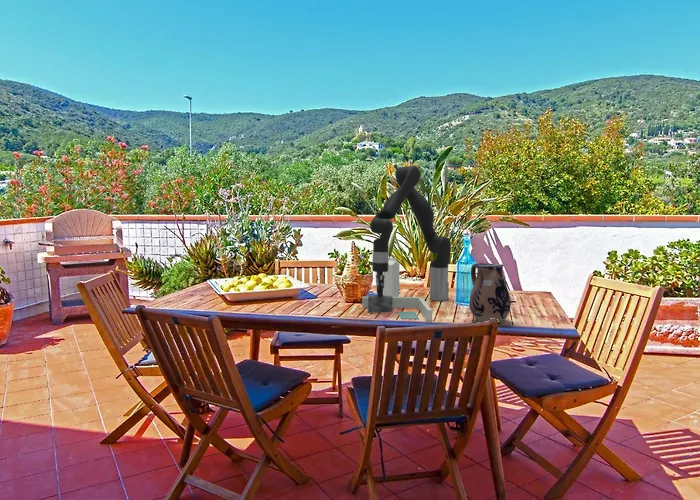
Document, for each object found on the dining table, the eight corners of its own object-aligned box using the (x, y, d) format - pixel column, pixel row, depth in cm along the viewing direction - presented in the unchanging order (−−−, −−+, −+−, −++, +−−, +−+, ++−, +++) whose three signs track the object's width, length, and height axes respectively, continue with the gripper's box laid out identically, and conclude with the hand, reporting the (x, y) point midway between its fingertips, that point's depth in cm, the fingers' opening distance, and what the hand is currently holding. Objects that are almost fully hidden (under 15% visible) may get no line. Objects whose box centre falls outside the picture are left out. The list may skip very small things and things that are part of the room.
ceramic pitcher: (492, 328, 227) (494, 268, 224) (454, 318, 244) (455, 263, 241) (518, 322, 237) (520, 265, 235) (480, 314, 254) (482, 260, 252)
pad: (414, 312, 257) (414, 311, 257) (419, 319, 243) (419, 318, 243) (397, 312, 257) (397, 311, 257) (401, 319, 243) (401, 318, 243)
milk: (392, 301, 283) (392, 258, 281) (382, 299, 287) (383, 257, 285) (399, 299, 288) (399, 257, 285) (390, 297, 292) (390, 256, 289)
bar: (391, 310, 262) (391, 295, 261) (392, 312, 257) (392, 297, 256) (368, 310, 262) (368, 295, 261) (368, 312, 257) (368, 297, 256)
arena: (421, 306, 269) (421, 296, 268) (431, 321, 239) (432, 309, 238) (362, 306, 268) (362, 296, 268) (365, 321, 238) (365, 309, 238)
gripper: (389, 263, 250) (389, 298, 251) (387, 259, 264) (386, 292, 266) (373, 263, 250) (372, 298, 251) (371, 259, 264) (370, 292, 265)
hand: (379, 295), depth 258 cm, fingers open, 8 cm apart
